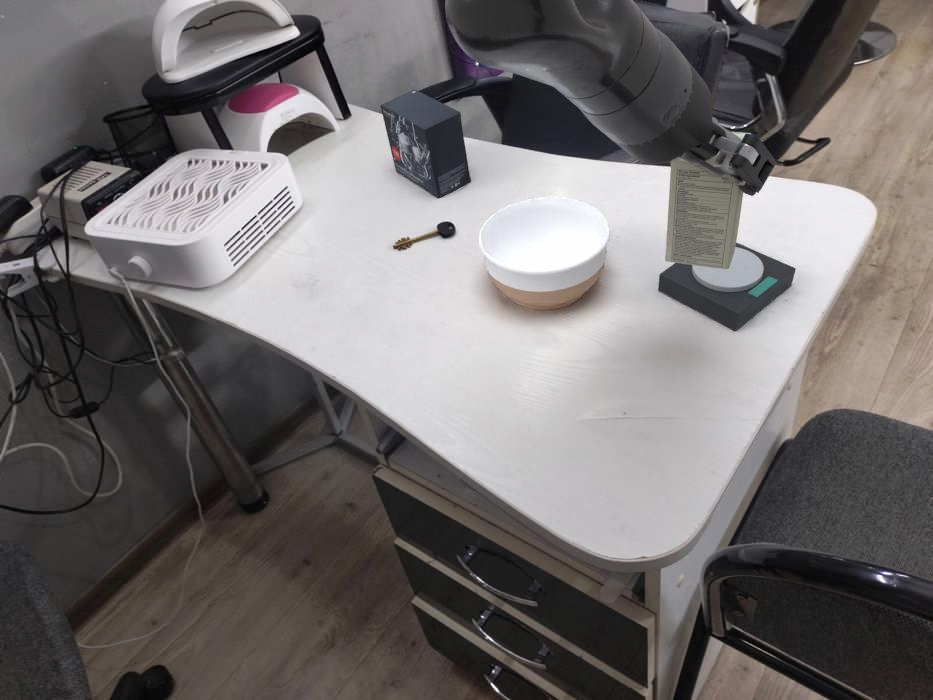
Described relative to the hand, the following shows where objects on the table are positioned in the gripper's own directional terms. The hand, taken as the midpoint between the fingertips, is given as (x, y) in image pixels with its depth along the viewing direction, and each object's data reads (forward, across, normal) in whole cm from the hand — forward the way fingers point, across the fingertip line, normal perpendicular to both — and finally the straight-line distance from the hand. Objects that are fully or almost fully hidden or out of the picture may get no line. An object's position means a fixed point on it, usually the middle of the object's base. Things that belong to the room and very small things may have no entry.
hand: (718, 171), depth 63 cm
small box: (+18, +54, +13) cm, 58 cm away
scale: (+22, +3, +8) cm, 24 cm away
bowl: (+13, +20, +18) cm, 30 cm away
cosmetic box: (+5, 0, +7) cm, 9 cm away
